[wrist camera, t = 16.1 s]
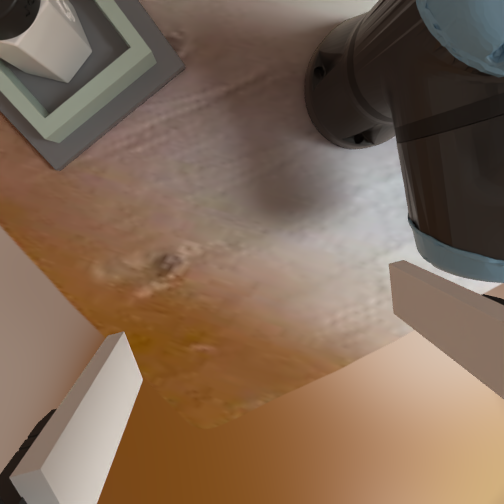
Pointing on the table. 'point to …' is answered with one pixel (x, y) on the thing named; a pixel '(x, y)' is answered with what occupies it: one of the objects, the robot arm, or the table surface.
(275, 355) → the table surface
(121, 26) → the green and grey tray
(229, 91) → the table surface
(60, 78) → the jar
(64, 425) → the robot arm
